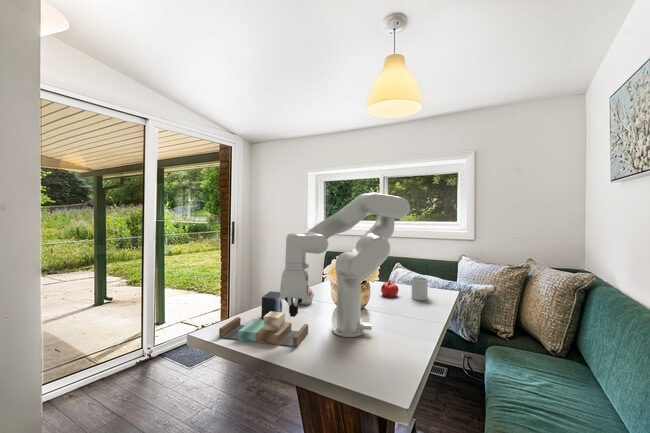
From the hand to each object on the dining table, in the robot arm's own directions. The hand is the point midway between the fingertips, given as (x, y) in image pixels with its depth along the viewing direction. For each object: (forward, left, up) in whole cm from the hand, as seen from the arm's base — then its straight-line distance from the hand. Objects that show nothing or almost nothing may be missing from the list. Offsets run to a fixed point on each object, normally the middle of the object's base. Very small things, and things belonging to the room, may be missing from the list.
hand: (293, 315), depth 114 cm
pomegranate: (-33, -71, -9) cm, 79 cm away
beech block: (+8, 0, -6) cm, 10 cm away
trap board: (+12, 0, -9) cm, 15 cm away
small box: (+17, -20, -9) cm, 28 cm away
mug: (-50, -71, -9) cm, 87 cm away
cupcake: (+9, -44, -9) cm, 46 cm away
